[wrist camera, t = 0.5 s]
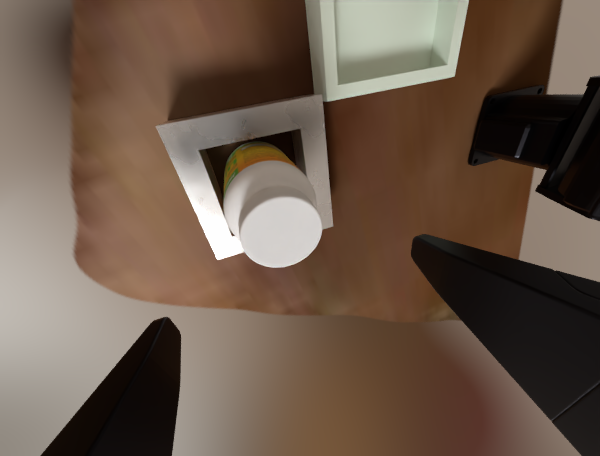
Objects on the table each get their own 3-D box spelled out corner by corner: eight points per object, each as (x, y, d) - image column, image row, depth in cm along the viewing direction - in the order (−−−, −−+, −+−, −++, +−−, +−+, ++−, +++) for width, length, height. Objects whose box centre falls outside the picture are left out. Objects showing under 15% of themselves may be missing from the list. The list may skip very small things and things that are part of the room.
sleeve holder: (307, 94, 17) (322, 94, 14) (320, 211, 22) (333, 226, 19) (167, 120, 15) (155, 125, 13) (218, 239, 20) (217, 259, 18)
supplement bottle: (221, 138, 16) (217, 178, 8) (292, 142, 18) (346, 179, 10) (226, 205, 19) (226, 285, 11) (287, 203, 21) (327, 273, 13)
